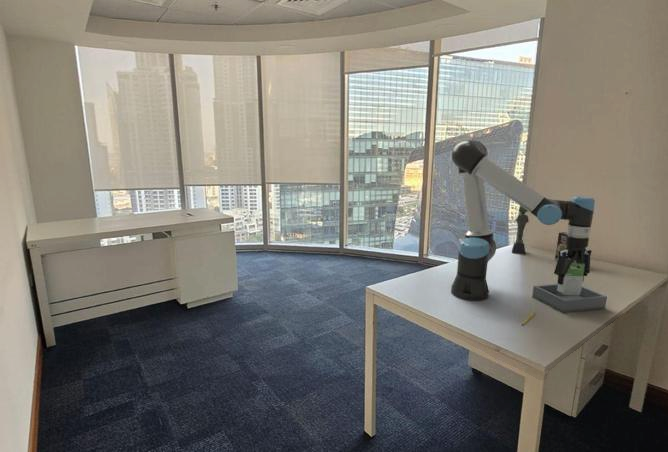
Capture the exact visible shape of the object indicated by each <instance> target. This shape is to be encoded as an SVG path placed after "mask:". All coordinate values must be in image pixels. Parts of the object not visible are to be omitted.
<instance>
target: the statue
mask: <svg viewBox="0 0 668 452" xmlns="http://www.w3.org/2000/svg"><path fill="white" fill-rule="evenodd" d="M517 211H518V212H520V214H518V215H517V217H516V219H515V221H516V223H517V239H515V242H514V243H513V245H512V248H511V249H512V250H511V253H512V254H517V255H526V247H525V243H524V239H523V237H524V229H525V227H526V225H527V223H529V222H530V219H529V216H528V215H526V213H527V212H529V211H527V210H526V209H524V208H523V207H522V206H520V207H519V209H518V210H517Z"/></svg>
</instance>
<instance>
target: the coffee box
mask: <svg viewBox="0 0 668 452" xmlns="http://www.w3.org/2000/svg"><path fill="white" fill-rule="evenodd" d="M567 235H568V234H567V231H566V232H563V231H562V232H558V236H557V241H556V244H557V245H556V249H555V250H556V251H555V255H554V261H555V262H557V261H558V257H559V251H560V250H561V251H564V250H565V249H566V248H567V245H566V244H565V242H566V236H567ZM568 259H570V258H568ZM572 263H575V264H576V260H574V261H573V262H572Z"/></svg>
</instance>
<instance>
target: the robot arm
mask: <svg viewBox="0 0 668 452" xmlns="http://www.w3.org/2000/svg"><path fill="white" fill-rule="evenodd" d="M488 155H489V154H488V149H487V147H486V146H485V145H484V144H483V143H482V142H480V141H478V140H468V139H467V140H462V141H460V142H458V143H456V145H455V146H454V147H453V148H452V151H451V160H452V162H453V163H454V165H455V167H458V168H457V169H458V174H459V175H460V176H461V177H462V179H463V180H462V181H463V190H464V191H463V192H464V200H465V201H464V202H465V211H466V221H467V223H466V224H467V231H466V232H465V234H464V237H465V238H463V239H461V240H460V242H459V246H458V257H457V268H456V269H457V270H456V276H455V278H454V281H453V283H452V285H451V288H450V290H451V292H450V293H452V295H453V296H455V297H457V298H459V299H463V300H468V301H484V300H487V299H488V298H489V294H490V291H489V285H488V283H487V282H488V281H487V272H488V271H487V270H488V264H489V262H490V260H492V258H493V257H494V256H495V254H496V251H497V244H496V241H495V240H494V234H493V233H494V232H493V230H491V229H490V227H489V219H488V209H487V197H486V186H485V183H487V184H488V185H489V186H491V187H492V188H494V189H495V190H496V191H498V192H500V193H501V194H502V195H504V196H506V197H507V198H508V199H510V200H512V201H513V202H514V203H516V204H517V205H519V206H520V207H521V206H522V207H523V208H524V209H526V210H527V211H528V212H529V213H530V214H531V215H533V216H535V217H536V218H537V219H538V221H539V222H540V223H541V224H543V225H546V226H552V225H553V226H554V225H555V224H557V223H558V222H559V221H560V220H563V221H568V224H567V229H566V232H567V234H568V235H567V236H566V242H565V244H566V245H567V248H566V249H565V250H564V251H561V250H560V251H559V257H558V261H556V265H555V268H554V271H553V272H554V275H556V276H557V283H556V284H558V287H557V291H559V292H561V293H564V290H565V284H566V277H565V275H566V273H567V271H568V269H569V267H570V265H571V263H572V262H573V261H574V260H576V264H585V268H584V274H583V280H582V284H583V283H584V282H585V281H584V280H585V277H587V276H588V274H590V273H591V271H590V269H591V255H592V249H588V248H587V247H589V241H590V235H591V234H590V232H591V227H592V223H593V218H594V213H595V204H596V201H595V199H594V198H593V197H590V196H581V195H577V196H573V197H572V198H571V200H559V199H550V198H547V197H545V196H544V195H542V194H540V192H538V191H537V190H535V189H534V188H532V187H530V186H529V185H527V184H526V183H524V182H522V181H521V180H519V178H517V177H515V176H514V175H512V174H511V173H509V172H508V171H506V170H505V169H503V168H502V167H501V166H499V165H497V164H496V163H494V162H493V161H491V160H490V159H489V156H488ZM568 258H570V259H568ZM576 268H581V267H579V266H576ZM582 286H583V285H582ZM582 286H581V289H582Z"/></svg>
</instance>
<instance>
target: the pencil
mask: <svg viewBox="0 0 668 452" xmlns="http://www.w3.org/2000/svg"><path fill="white" fill-rule="evenodd" d="M535 315H536V312H535V311H532V312H531V314H529V315H528V316H527V317H526V318H525V320H523V322H522V323H521V325H522V326H525V325H526V324H527V323H528V322H529V321H530V320H531V319H532V318H533V316H535Z"/></svg>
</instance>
